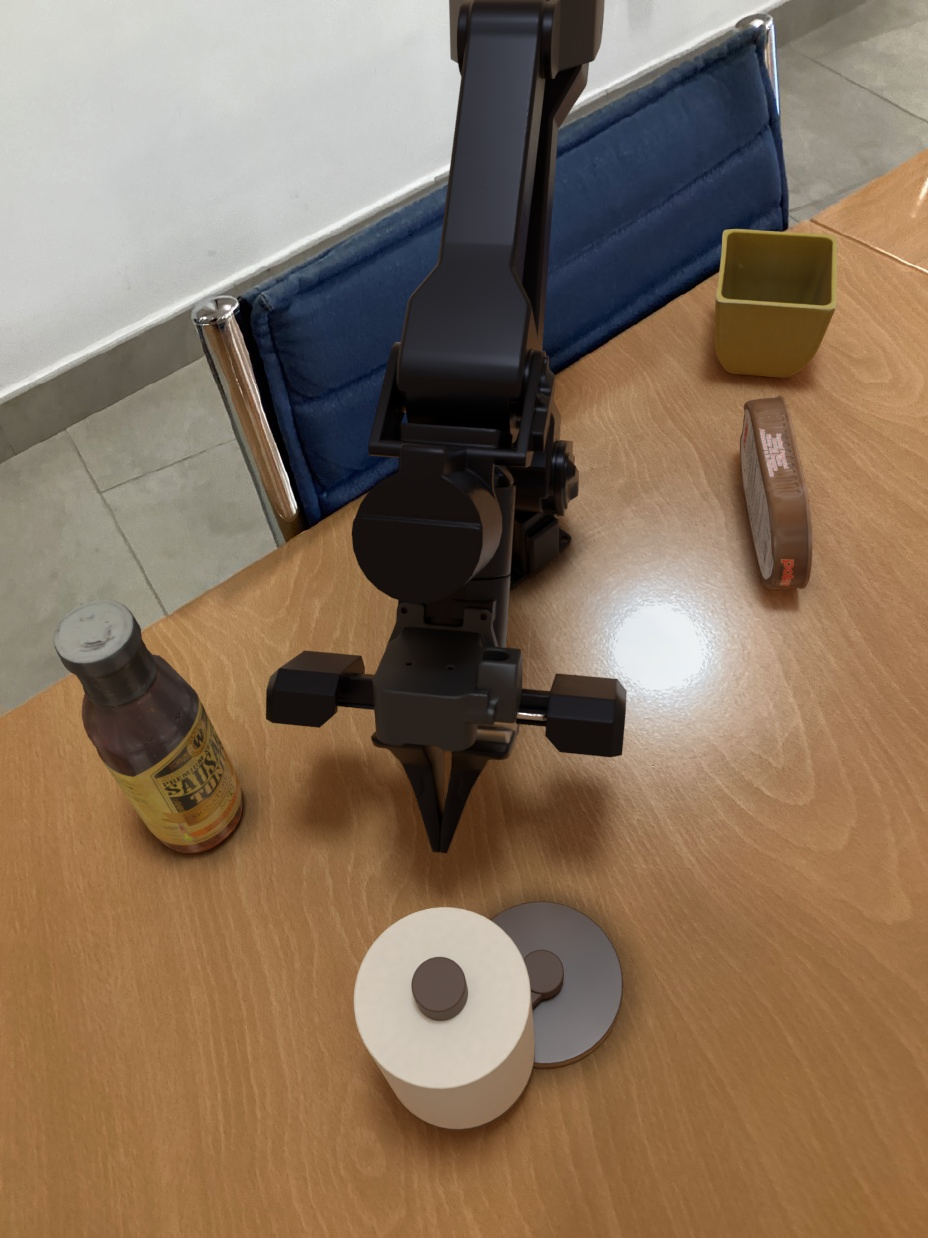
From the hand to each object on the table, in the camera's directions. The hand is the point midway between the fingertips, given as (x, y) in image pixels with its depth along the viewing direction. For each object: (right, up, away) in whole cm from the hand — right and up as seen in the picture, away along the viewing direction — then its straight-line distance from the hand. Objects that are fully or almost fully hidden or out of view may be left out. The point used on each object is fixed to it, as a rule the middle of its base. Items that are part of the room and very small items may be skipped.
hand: (441, 850), depth 58 cm
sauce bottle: (-16, 0, +10) cm, 18 cm away
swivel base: (+6, -8, +2) cm, 10 cm away
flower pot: (+26, +34, +30) cm, 52 cm away
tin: (+23, +19, +19) cm, 36 cm away
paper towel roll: (+2, -10, -1) cm, 10 cm away
